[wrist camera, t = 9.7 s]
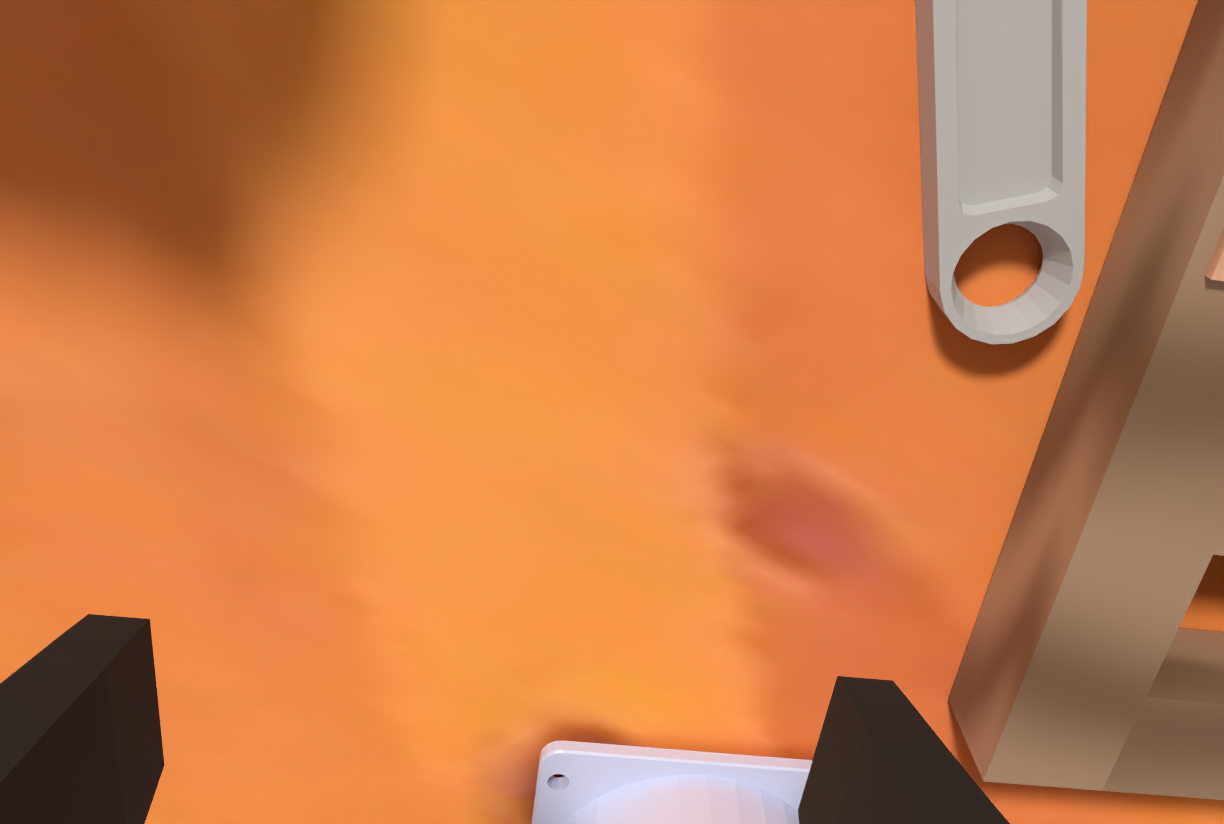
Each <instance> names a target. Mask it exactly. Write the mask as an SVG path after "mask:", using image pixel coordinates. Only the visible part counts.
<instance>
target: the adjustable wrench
mask: <svg viewBox="0 0 1224 824" xmlns="http://www.w3.org/2000/svg"><path fill="white" fill-rule="evenodd" d="M915 9H916V38H917V68H918V97H919V126H920V155H921V185H922V214H923V243H924V272H925V278H926V282H927V286H928V290H929V293H930V294H931V296H932V297H933V299H934V300H935V302H936V303H937V305H938V306H939V308H940V309H941V310H942V311H943V313H944V314H945V315H946V317H947V318H948V319H949V320H950V322H951V323H952V324H953V325H954V327H955V328H956V329H958V330H959V331H961V332H962V333H963V334H965V335H966V336H968V337H969V338H971V339H973V340H977V341H981V342H985V343H988V344H1011V343H1016V342H1019V341H1022V340H1025V339H1028V338H1031V337H1034V336H1036V335H1038V334H1039V333H1041V332H1042V331H1044V330H1045V329H1047V328H1049V327H1050V326H1052V325H1053V324H1055V323H1056V321H1057V320H1058V319H1059V318H1060V317H1061V316H1062V315H1063V314H1064V313H1065V312H1066V311H1067V310H1068V309H1069V308H1070V306H1071V304H1072V302H1073V300H1074V298H1075V296H1076V295H1077V293H1078V291H1079V289H1080V287H1081V281H1082V276H1083V271H1084V253H1085V147H1086V41H1087V0H915ZM1003 224H1014V225H1018V226H1021V227H1025V228H1026V229H1027V230H1029V231H1030V232H1031V233H1033V234H1034V235H1035V236H1036V238H1037V240H1038V241H1039V243H1040V244H1041V247H1042V253H1043V258H1042V264H1041V268H1040V270H1039V272H1038V274H1037V276H1036V278H1035V280H1034V281H1033V282H1032V283H1031V284H1030V285H1029V287H1028V288H1027V289H1026V290H1025V291H1024V292H1023V293H1022V294H1020V295H1018V296H1017V297H1015V298H1014V299H1012V300H1011V301H1009V302H1006V303H1003V304H1000V305H997V306H991V307H984V306H980V305H976V304H973V303H972V302H971V301H969V300H968V299H966V298H965V297H964V296H963V295H962V293H961V292H960V290H959V289H958V287H957V284H956V280H955V275H954V273H955V267H956V265H957V263H958V261H959V259H960V257H961V255H962V254H963V253H964V251H965V250H966V249H967V248H968V247H969V246H970V244H971V243H972V242H973V241H974V240H975V239H976V238H978V237H979V236H981V235H982V234H984V233H985V232H987V231H988V230H990V229H991V228H994V227H997V226H1000V225H1003Z"/></svg>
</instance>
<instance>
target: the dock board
mask: <svg viewBox="0 0 1224 824" xmlns="http://www.w3.org/2000/svg"><path fill="white" fill-rule="evenodd" d="M1213 555H1222V556H1224V0H1199V1H1198V3H1197V6H1196V9H1195V12H1194V15H1193V17H1192V20H1191V23H1190V26H1189V29H1188V31H1187V34H1186V37H1185V40H1184V43H1183V45H1182V48H1181V51H1180V54H1179V57H1178V59H1177V62H1176V65H1175V68H1174V70H1173V73H1172V76H1171V79H1170V82H1169V84H1168V87H1167V90H1166V93H1165V96H1164V98H1163V101H1162V104H1161V107H1160V110H1159V112H1158V115H1157V118H1156V121H1155V124H1154V126H1153V129H1152V132H1151V135H1150V137H1149V140H1148V143H1147V146H1146V149H1145V151H1144V154H1143V157H1142V160H1141V163H1140V165H1139V168H1138V171H1137V174H1136V177H1135V179H1134V182H1133V185H1132V188H1131V191H1130V193H1129V196H1128V199H1127V202H1126V205H1125V207H1124V210H1123V213H1122V216H1121V218H1120V221H1119V224H1118V227H1117V230H1116V232H1115V235H1114V238H1113V241H1112V244H1111V246H1110V249H1109V252H1108V255H1107V258H1106V260H1105V263H1104V266H1103V269H1102V272H1101V274H1100V277H1099V280H1098V283H1097V285H1096V288H1095V291H1094V294H1093V297H1092V299H1091V302H1090V305H1089V308H1088V311H1087V313H1086V316H1085V319H1084V322H1083V325H1082V327H1081V330H1080V333H1079V336H1078V339H1077V341H1076V344H1075V347H1074V350H1073V352H1072V355H1071V358H1070V361H1069V364H1068V366H1067V369H1066V372H1065V375H1064V378H1063V380H1062V383H1061V386H1060V389H1059V392H1058V394H1057V397H1056V400H1055V403H1054V406H1053V408H1052V411H1051V414H1050V417H1049V420H1048V422H1047V425H1046V428H1045V431H1044V433H1043V436H1042V439H1041V442H1040V445H1039V447H1038V450H1037V453H1036V456H1035V459H1034V461H1033V464H1032V467H1031V470H1030V473H1029V475H1028V478H1027V481H1026V484H1025V487H1024V489H1023V492H1022V495H1021V498H1020V500H1019V503H1018V506H1017V509H1016V512H1015V514H1014V517H1013V520H1012V523H1011V526H1010V528H1009V531H1008V534H1007V537H1006V540H1005V542H1004V545H1003V548H1002V551H1001V554H1000V556H999V559H998V562H997V565H996V567H995V570H994V573H993V576H992V579H991V581H990V584H989V587H988V590H987V593H986V595H985V598H984V601H983V604H982V607H981V609H980V612H979V615H978V618H977V621H976V623H975V626H974V629H973V632H972V635H971V637H970V640H969V643H968V646H967V648H966V651H965V654H964V657H963V660H962V662H961V665H960V668H959V671H958V674H957V676H956V679H955V682H954V685H953V688H952V690H951V693H950V696H949V699H948V702H949V704H950V706H951V709H952V711H953V713H954V716H955V718H956V720H957V722H958V725H959V727H960V729H961V732H962V734H963V736H964V738H965V741H966V743H967V745H968V748H969V750H970V752H971V755H972V757H973V759H974V761H975V764H976V766H977V768H978V771H979V773H980V775H981V778H982V780H983V781H984V782H997V783H1010V784H1022V785H1035V786H1048V787H1061V788H1073V789H1086V790H1099V791H1112V792H1124V793H1137V794H1150V795H1163V796H1175V797H1188V798H1201V799H1214V800H1224V632H1215V631H1204V630H1193V629H1182V628H1179V626H1180V624H1181V622H1182V620H1183V618H1184V616H1185V614H1186V612H1187V609H1188V607H1189V605H1190V603H1191V601H1192V599H1193V597H1194V595H1195V592H1196V590H1197V588H1198V586H1199V584H1200V582H1201V580H1202V578H1203V575H1204V573H1205V571H1206V569H1207V567H1208V565H1209V563H1210V561H1211V558H1212V556H1213Z"/></svg>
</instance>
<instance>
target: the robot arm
mask: <svg viewBox="0 0 1224 824" xmlns="http://www.w3.org/2000/svg"><path fill="white" fill-rule="evenodd" d="M163 767H164V758H163V748H162V738H161V728H160V718H159V708H158V698H157V688H156V678H155V668H154V658H153V648H152V638H151V628H150V619H140V618H128V617H116V616H104V615H92V614H88V615H87V616H86V617H84V618H83V619H82V620H80V621H79V622H78V623H76V624H75V625H74V626H72V627H71V628H70V629H69V630H67V631H66V632H65V633H63V634H62V635H61V636H59V637H58V638H57V639H56V640H54V641H53V642H52V643H51V644H49V645H48V646H47V647H46V648H44V649H43V650H42V651H41V652H39V653H38V654H37V655H36V656H34V657H33V658H32V659H31V660H29V661H28V662H27V663H26V664H24V665H23V666H22V667H21V668H19V669H18V670H17V671H16V672H14V673H13V674H12V675H11V676H9V677H8V678H7V679H6V680H4V681H3V682H2V683H0V824H144V823H145V820H146V817H147V814H148V811H149V808H150V805H151V802H152V800H153V797H154V794H155V791H156V788H157V785H158V782H159V779H160V776H161V773H162V770H163ZM555 774H561V775H565V776H564V777H554V776H552V775H555ZM531 824H1010V823H1009V822H1008V821H1007V820H1006V819H1005V818H1004V816H1003V815H1002V814H1001V813H1000V812H999V811H998V809H997V808H996V807H995V806H994V805H993V803H992V802H991V801H990V800H989V799H988V797H987V796H986V795H985V794H984V793H983V791H982V790H981V789H980V788H979V787H978V785H977V784H976V783H975V782H974V781H973V779H972V778H971V777H970V776H969V774H968V773H967V772H966V771H965V769H964V768H963V767H962V766H961V765H960V763H959V762H958V761H957V760H956V758H955V757H954V756H953V755H952V753H951V752H950V751H949V750H948V749H947V747H946V746H945V745H944V744H943V742H942V741H941V740H940V739H939V737H938V736H937V735H936V734H935V732H934V731H933V730H932V729H931V727H930V726H929V725H928V724H927V722H926V721H925V720H924V719H923V717H922V716H921V715H920V714H919V712H918V711H917V710H916V709H915V707H914V706H913V705H912V704H911V702H910V701H909V700H908V699H907V697H906V696H905V695H904V694H903V692H902V691H901V690H900V689H899V688H898V686H897V685H896V684H895V683H894V682H893V681H889V680H877V679H865V678H853V677H841V676H838V677H837V680H836V683H835V687H834V690H833V693H832V697H831V700H830V704H829V707H828V710H827V714H826V717H825V720H824V724H823V727H822V730H821V734H820V737H819V741H818V744H817V747H816V751H815V754H814V757H813V760H803V759H790V758H778V757H765V756H752V755H740V754H727V753H714V752H702V751H689V750H676V749H664V748H651V747H638V746H626V745H613V744H601V743H588V742H575V741H554V742H551V743H549V744H547V745H546V746H545V747H544V748H543V749H542V751H541V753H540V759H539V767H538V775H537V782H536V790H535V798H534V806H533V813H532V821H531Z"/></svg>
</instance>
